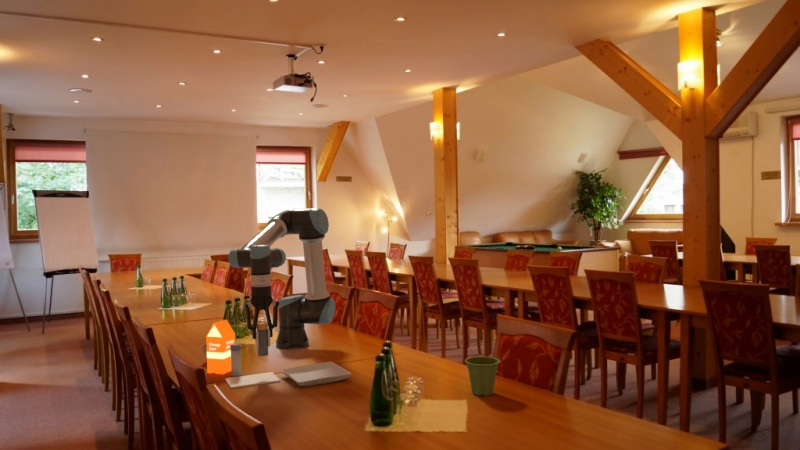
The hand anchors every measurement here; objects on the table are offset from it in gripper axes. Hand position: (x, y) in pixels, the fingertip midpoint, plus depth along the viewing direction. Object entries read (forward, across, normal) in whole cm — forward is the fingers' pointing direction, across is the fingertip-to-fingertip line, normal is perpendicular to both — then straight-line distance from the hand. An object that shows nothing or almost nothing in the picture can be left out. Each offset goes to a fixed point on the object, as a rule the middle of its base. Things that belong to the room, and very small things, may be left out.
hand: (262, 346), depth 239 cm
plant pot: (+12, +62, -58) cm, 86 cm away
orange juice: (+12, -13, +18) cm, 25 cm away
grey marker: (+12, -9, +8) cm, 17 cm away
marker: (+3, 0, 0) cm, 3 cm away
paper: (+12, -5, -3) cm, 13 cm away
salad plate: (+12, +17, -12) cm, 24 cm away
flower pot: (+12, -13, +36) cm, 40 cm away
